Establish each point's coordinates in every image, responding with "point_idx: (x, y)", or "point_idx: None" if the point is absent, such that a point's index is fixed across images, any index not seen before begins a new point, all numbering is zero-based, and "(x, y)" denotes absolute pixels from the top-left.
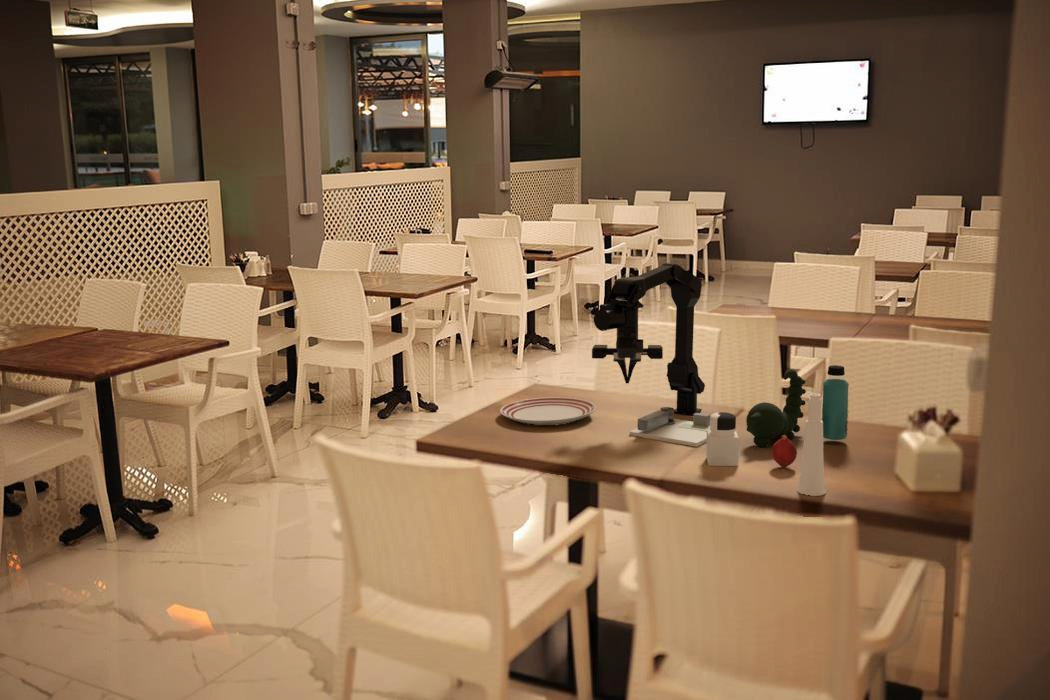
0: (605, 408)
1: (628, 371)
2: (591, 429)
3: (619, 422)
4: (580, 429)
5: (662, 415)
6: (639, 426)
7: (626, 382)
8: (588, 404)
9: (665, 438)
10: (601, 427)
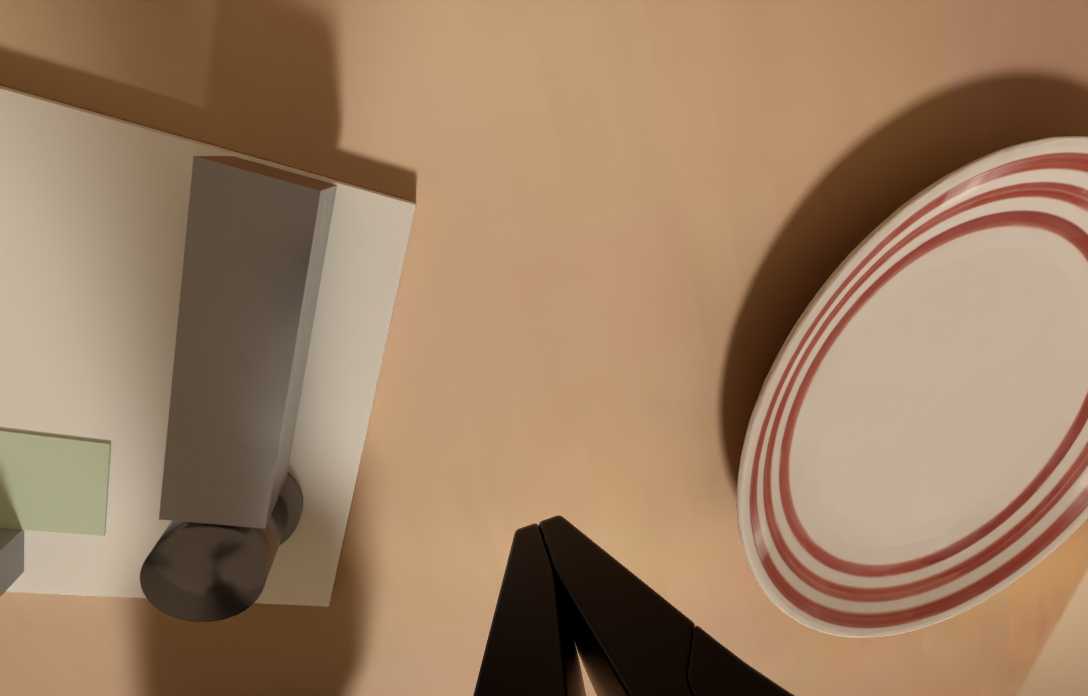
0: None
1: (560, 691)
2: (690, 258)
3: (566, 457)
4: (753, 236)
5: (172, 423)
6: (313, 182)
7: (552, 523)
8: (785, 583)
9: (39, 98)
10: (642, 322)
